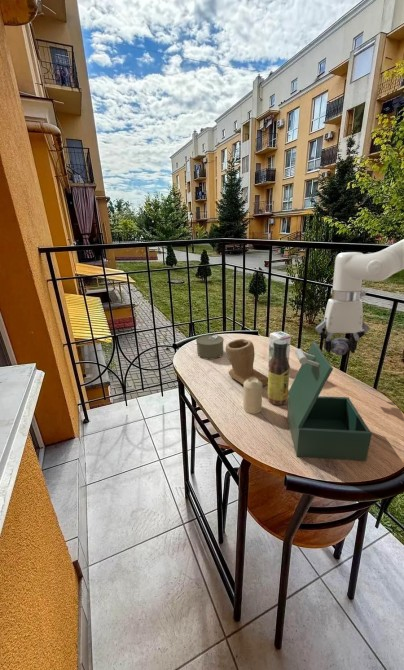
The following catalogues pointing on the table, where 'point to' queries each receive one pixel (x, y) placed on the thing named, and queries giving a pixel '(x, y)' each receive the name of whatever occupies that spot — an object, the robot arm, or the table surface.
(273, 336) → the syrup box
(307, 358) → the lid
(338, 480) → the table surface
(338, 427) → the chest
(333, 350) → the seashell
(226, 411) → the table surface
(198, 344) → the can
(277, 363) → the sauce bottle
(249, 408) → the candle
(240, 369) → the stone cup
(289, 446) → the table surface
